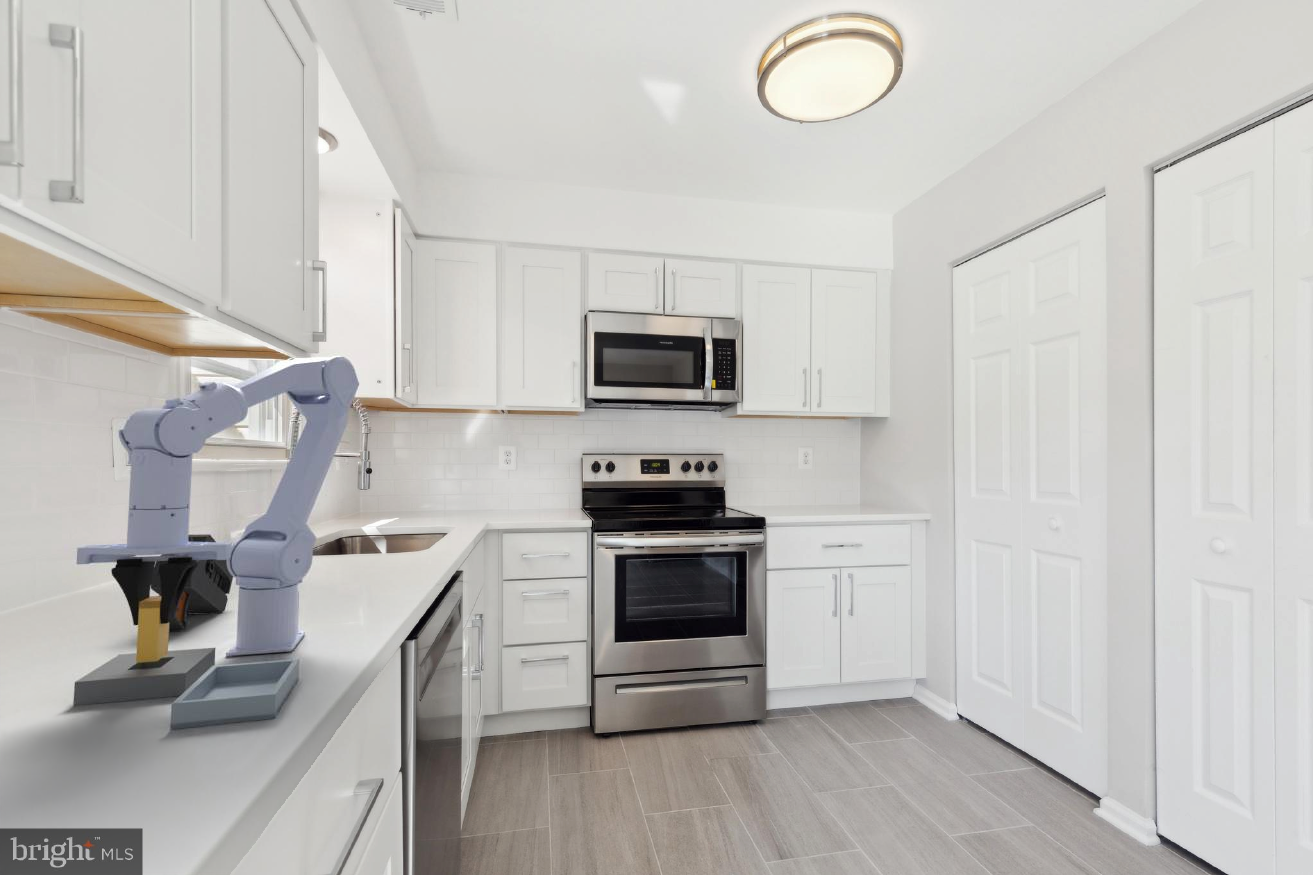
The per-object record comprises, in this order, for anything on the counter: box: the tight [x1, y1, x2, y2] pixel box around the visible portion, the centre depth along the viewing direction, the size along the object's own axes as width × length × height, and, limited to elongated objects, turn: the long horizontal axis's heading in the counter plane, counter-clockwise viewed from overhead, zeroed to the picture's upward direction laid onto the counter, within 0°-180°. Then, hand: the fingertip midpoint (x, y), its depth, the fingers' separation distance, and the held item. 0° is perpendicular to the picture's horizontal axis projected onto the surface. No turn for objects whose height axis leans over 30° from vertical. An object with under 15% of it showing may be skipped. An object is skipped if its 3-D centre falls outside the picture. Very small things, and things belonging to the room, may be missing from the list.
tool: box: [150, 533, 234, 632], centre depth 102 cm, size 6×19×15 cm
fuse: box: [136, 595, 170, 663], centre depth 73 cm, size 3×2×7 cm, turn 20°
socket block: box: [72, 647, 216, 707], centre depth 72 cm, size 10×10×2 cm
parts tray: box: [169, 658, 300, 730], centre depth 68 cm, size 12×9×2 cm
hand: (154, 622), depth 73 cm, fingers closed on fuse, 2 cm apart
